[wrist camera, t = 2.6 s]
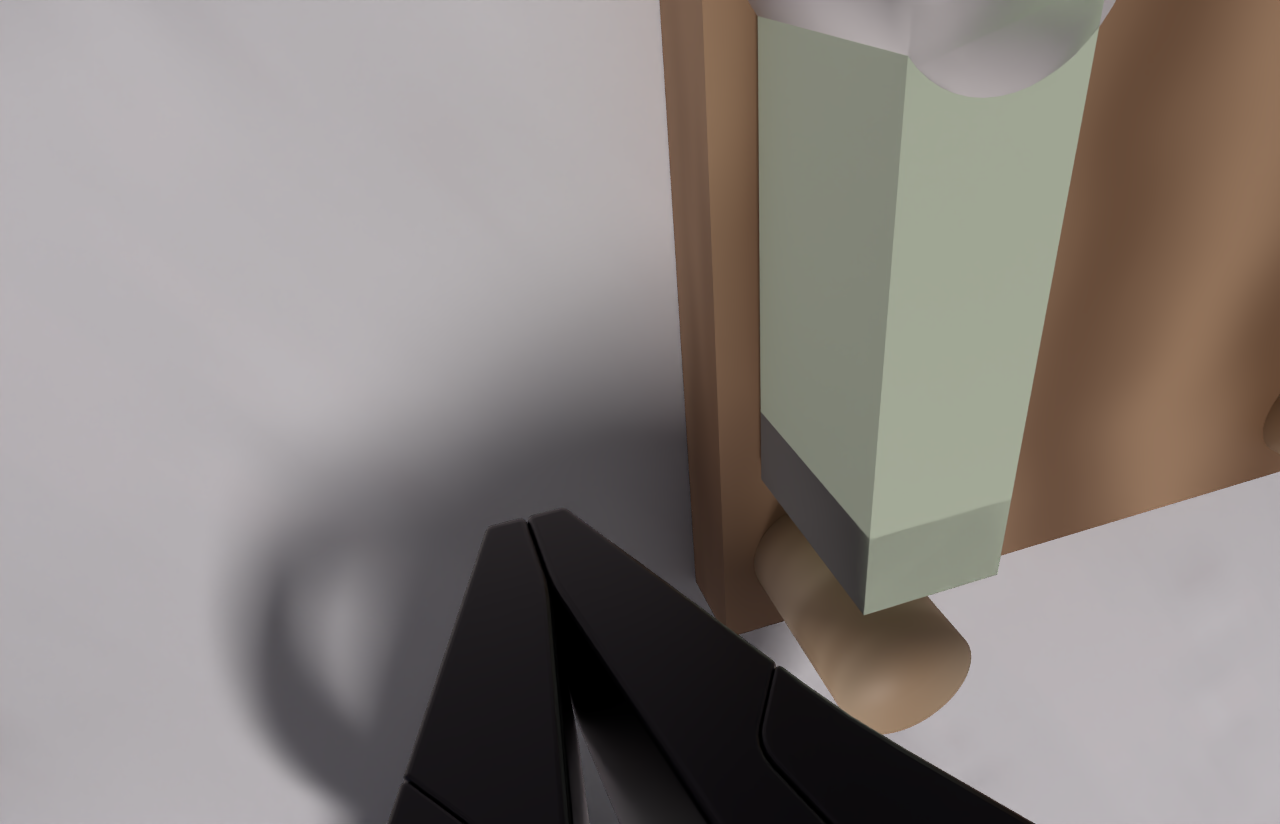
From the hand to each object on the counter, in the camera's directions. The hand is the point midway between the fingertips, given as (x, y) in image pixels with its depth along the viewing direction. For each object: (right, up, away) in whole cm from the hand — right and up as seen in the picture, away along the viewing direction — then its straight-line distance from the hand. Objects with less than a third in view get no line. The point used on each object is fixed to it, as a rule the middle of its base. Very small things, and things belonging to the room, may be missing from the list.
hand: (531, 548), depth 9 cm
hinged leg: (+4, +5, +5) cm, 9 cm away
